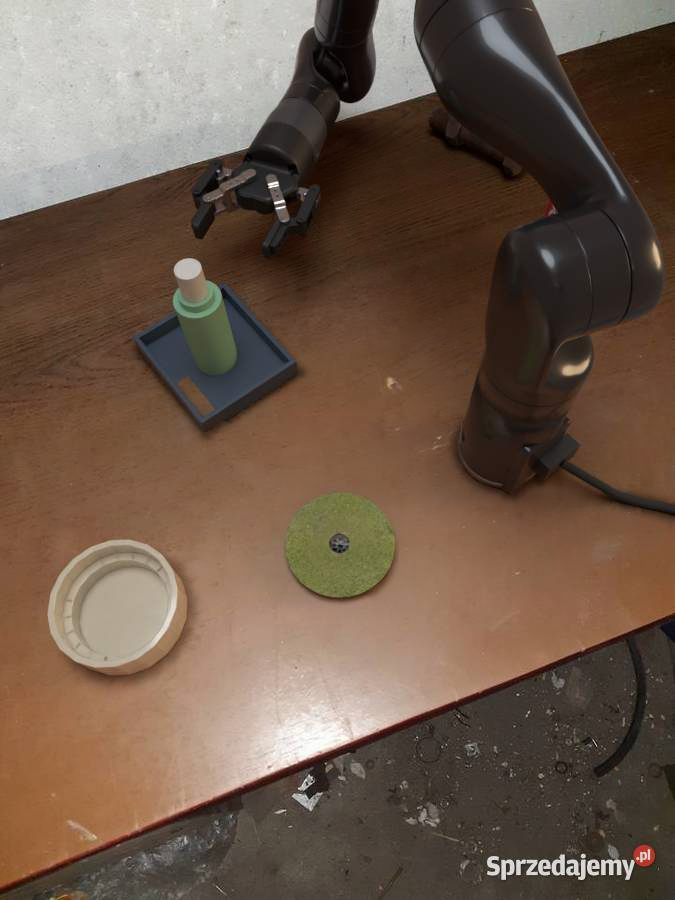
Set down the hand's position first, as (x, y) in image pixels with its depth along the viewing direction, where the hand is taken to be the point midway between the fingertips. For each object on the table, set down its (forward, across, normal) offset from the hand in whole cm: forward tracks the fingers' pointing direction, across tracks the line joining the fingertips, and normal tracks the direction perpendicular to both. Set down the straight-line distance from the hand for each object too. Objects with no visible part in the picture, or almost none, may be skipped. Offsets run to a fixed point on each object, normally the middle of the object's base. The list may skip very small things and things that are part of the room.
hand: (231, 243), depth 77 cm
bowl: (+40, +5, +11) cm, 41 cm away
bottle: (+8, 0, +11) cm, 14 cm away
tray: (+9, 0, +11) cm, 14 cm away
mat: (+26, +22, +11) cm, 36 cm away
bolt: (-37, +20, +12) cm, 43 cm away
